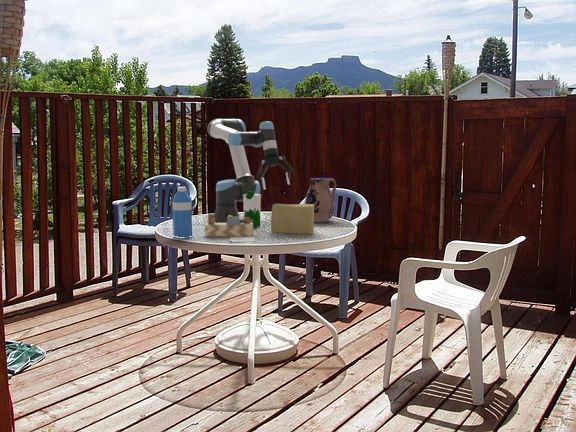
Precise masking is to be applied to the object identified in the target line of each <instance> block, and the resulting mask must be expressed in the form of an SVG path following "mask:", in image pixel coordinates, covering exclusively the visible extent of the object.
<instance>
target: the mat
mask: <svg viewBox="0 0 576 432" xmlns="http://www.w3.org/2000/svg"><path fill="white" fill-rule="evenodd" d="M230 241H232V242H231V243H256V239H255V236H229V242H230Z"/></svg>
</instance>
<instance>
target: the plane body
mask: <svg viewBox="0 0 576 432" xmlns="http://www.w3.org/2000/svg"><path fill="white" fill-rule="evenodd" d="M204 227H205V229H204V234H205V235H204V237H205V236H223V237H254V228H253V223H250V217H244V216H243V222H239V225H227V222H215V220H214V213H208V214H207V222H205V223H204Z"/></svg>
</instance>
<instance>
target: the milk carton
mask: <svg viewBox="0 0 576 432" xmlns="http://www.w3.org/2000/svg"><path fill="white" fill-rule="evenodd" d="M261 197H262V194H261V193H260V194H254V191H247V194H245V195H243V201H242V202H243V218H244V217H250V223H253V229H258V228H260V227H261V224H262V223H261V221H262V220H261V216H262V215H261V214H262V213H261V199H262V198H261Z"/></svg>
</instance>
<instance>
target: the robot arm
mask: <svg viewBox="0 0 576 432" xmlns="http://www.w3.org/2000/svg"><path fill="white" fill-rule="evenodd" d="M206 128H207V133H208V135H209V136H210V137H211V138H215V139H222V140H223V141H225V144H226V143H227V144H228V147H229V151H230V155H231V159H232V165H233V166H234V167H233V169H234V171H235V172H234V173H235V175H236V179H224V180H220V181H217V183H216V186H215V196H216V197H215V198H216V201H215V202H216V203H215V204H216V207H215V210H214V212H213V214H214V222H215V221H216V222H227V216H228V215H232V216H239V217H240V214H239V211H238V208H237V202H243V195H245V194H247V191H254V194H261V185H262V188H263V189H262V190H265V191H266V181H265V178H264V176H265V174H266V172H267V171H268V170H269V167H274V166H275V167H277V165H278V166H279V167H280V168H281V169H283V170H284V171H285V176H286V183H287V185H288V186H289V185H291V183H290V179H291V172H293V168H292V166H291V165H290V164H289V162H288V161H287V160H286V157H285V155H283V154H282V155H281V156H279V151H278V145H277V140H276V133H275V127H274V124H273V122H272V121H262V122H261V123H260V124H259V130H258V131H246V130H247V129H246V125H245V123H244V121H243V120H242V119H239V118H214V119H213V120H210V122H209V123H208V124H207V127H206ZM244 146H253V147H255V148H259V147H262V148H263V154H264V159H263V160H262V159H259V165H258V168H257V173H256V174H255V176H253V175H252V174H251V171H250V167H249V163H248V159H247V155H246V150H245V147H244ZM280 160H281V161H283V162H284V164H285V165H286V166H287V167H285V166H284V165H283V164H282V163H281V162H280ZM264 164H265V165H264ZM263 166H264V168H263ZM255 177H256V178H257V179H259V180H255ZM259 181H260V182H259Z"/></svg>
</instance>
